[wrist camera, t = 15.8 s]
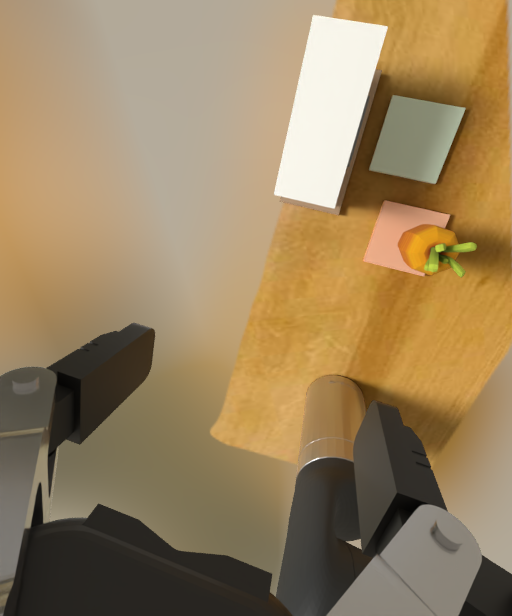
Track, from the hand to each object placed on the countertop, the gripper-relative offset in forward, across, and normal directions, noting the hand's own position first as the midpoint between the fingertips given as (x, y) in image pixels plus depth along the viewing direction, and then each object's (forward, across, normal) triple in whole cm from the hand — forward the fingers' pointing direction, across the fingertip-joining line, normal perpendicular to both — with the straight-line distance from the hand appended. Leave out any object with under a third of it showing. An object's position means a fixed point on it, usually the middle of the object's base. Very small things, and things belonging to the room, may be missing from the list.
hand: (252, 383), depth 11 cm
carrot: (+35, -12, -4) cm, 37 cm away
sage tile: (+36, -8, -15) cm, 40 cm away
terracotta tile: (+36, -12, -4) cm, 38 cm away
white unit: (+36, +2, -13) cm, 38 cm away
